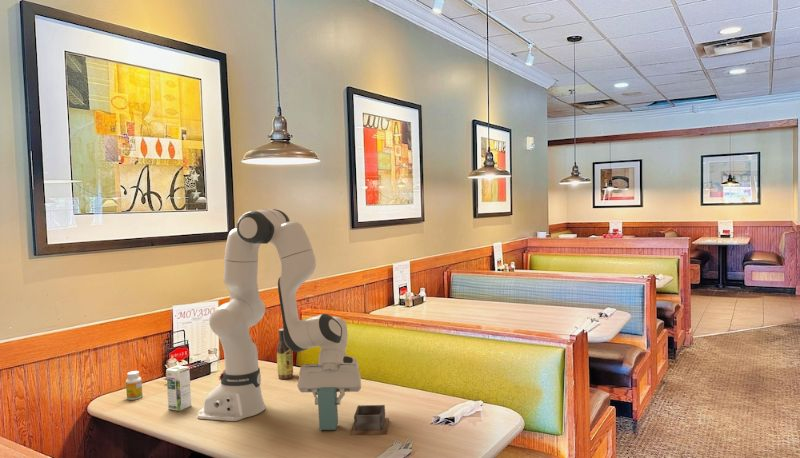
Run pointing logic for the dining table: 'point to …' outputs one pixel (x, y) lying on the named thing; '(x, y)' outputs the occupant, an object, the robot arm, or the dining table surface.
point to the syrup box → (178, 388)
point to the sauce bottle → (284, 358)
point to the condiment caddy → (370, 420)
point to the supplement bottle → (133, 385)
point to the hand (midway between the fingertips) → (327, 404)
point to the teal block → (327, 408)
